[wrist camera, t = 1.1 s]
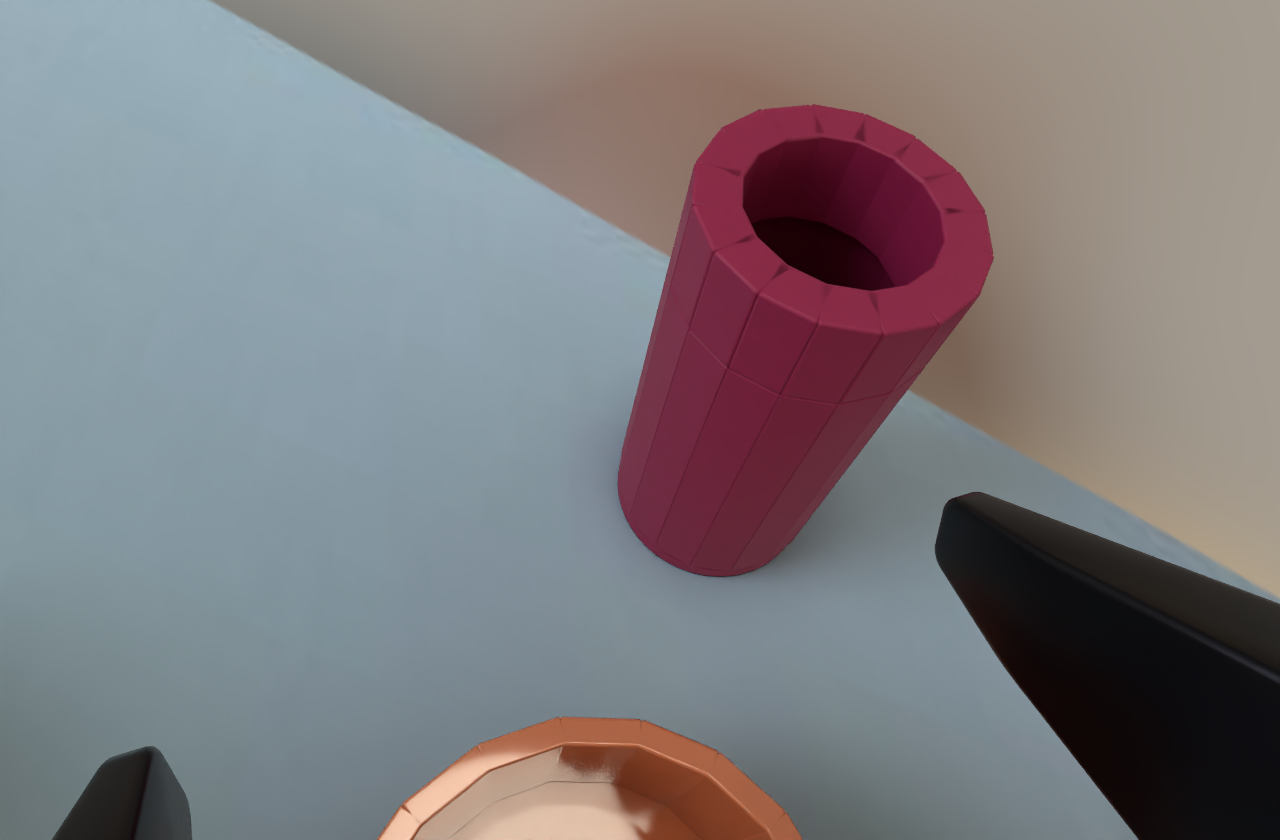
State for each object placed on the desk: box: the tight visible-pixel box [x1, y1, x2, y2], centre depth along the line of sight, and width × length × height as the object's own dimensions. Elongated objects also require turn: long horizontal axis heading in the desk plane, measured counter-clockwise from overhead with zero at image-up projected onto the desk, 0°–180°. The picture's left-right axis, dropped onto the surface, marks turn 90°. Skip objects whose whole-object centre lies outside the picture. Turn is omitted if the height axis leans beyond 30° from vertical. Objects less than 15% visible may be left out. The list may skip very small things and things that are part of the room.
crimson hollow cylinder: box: [618, 104, 994, 576], centre depth 22 cm, size 6×6×13 cm
